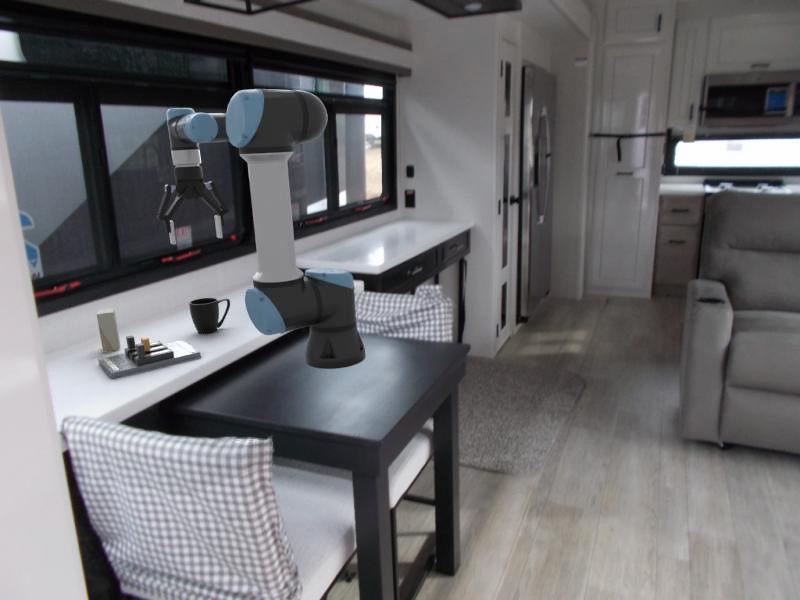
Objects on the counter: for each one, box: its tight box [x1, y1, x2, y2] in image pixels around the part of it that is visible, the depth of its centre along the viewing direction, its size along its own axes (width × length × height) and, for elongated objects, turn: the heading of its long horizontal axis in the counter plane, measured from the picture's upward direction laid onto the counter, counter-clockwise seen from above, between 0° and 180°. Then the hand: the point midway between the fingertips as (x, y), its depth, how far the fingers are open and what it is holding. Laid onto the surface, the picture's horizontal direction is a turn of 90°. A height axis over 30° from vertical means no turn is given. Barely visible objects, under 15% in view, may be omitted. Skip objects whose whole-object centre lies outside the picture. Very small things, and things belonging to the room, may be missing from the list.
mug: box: [188, 297, 231, 335], centre depth 186 cm, size 8×12×10 cm
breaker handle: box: [140, 336, 151, 351], centre depth 161 cm, size 2×2×3 cm
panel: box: [97, 335, 202, 380], centre depth 162 cm, size 14×22×6 cm, turn 128°
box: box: [96, 308, 121, 353], centre depth 173 cm, size 5×4×11 cm
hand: (197, 240), depth 179 cm, fingers open, 13 cm apart
